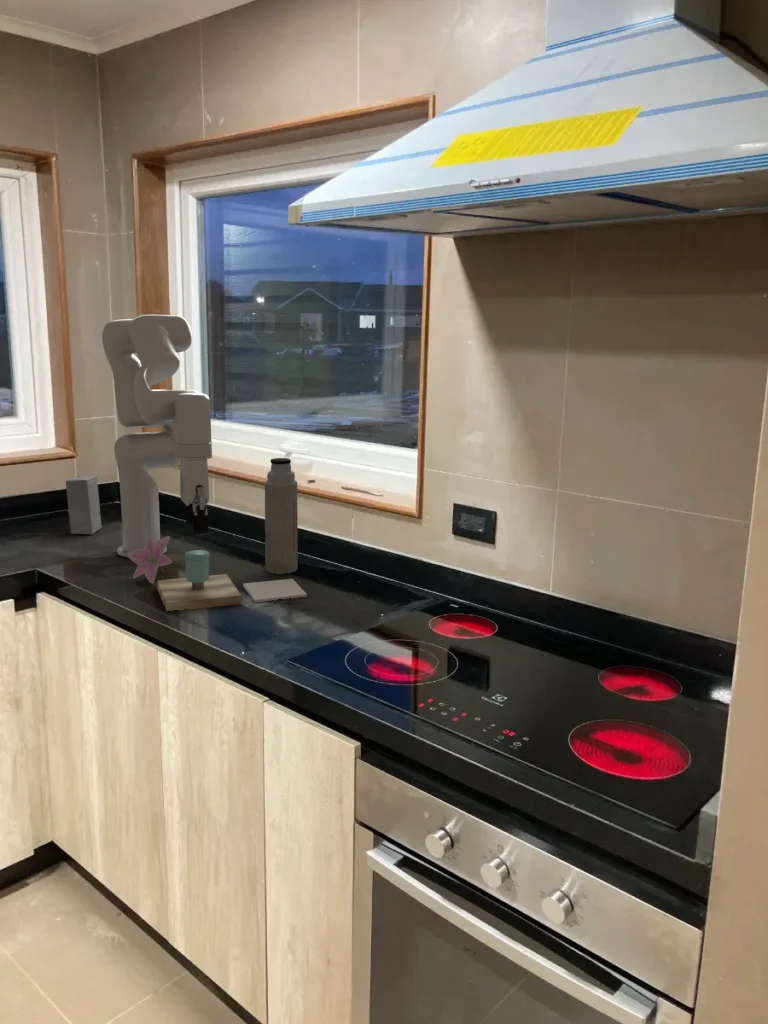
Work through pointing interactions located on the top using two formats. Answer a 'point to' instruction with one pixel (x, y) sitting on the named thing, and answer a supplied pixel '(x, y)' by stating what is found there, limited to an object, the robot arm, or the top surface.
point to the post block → (198, 593)
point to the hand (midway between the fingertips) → (197, 528)
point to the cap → (197, 566)
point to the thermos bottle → (281, 518)
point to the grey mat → (274, 590)
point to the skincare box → (83, 504)
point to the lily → (150, 558)
